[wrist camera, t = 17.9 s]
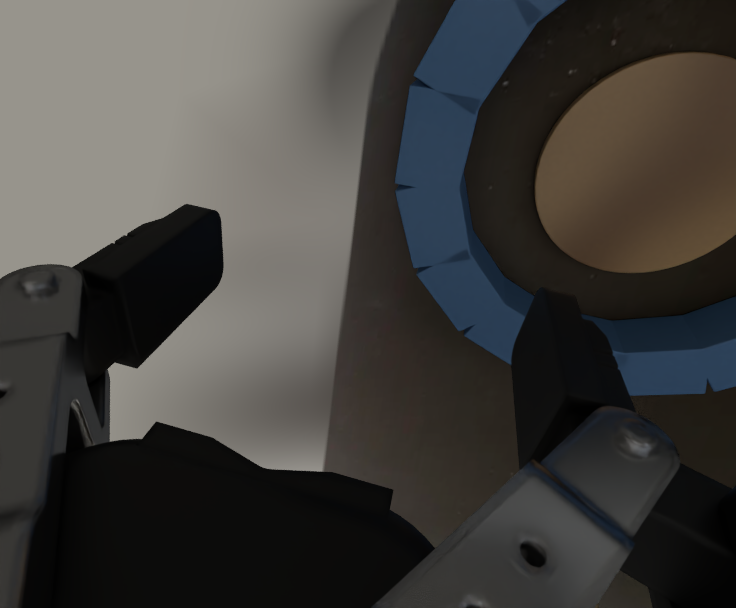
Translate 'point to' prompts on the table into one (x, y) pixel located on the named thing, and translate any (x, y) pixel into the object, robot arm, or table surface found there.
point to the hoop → (466, 252)
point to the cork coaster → (644, 165)
